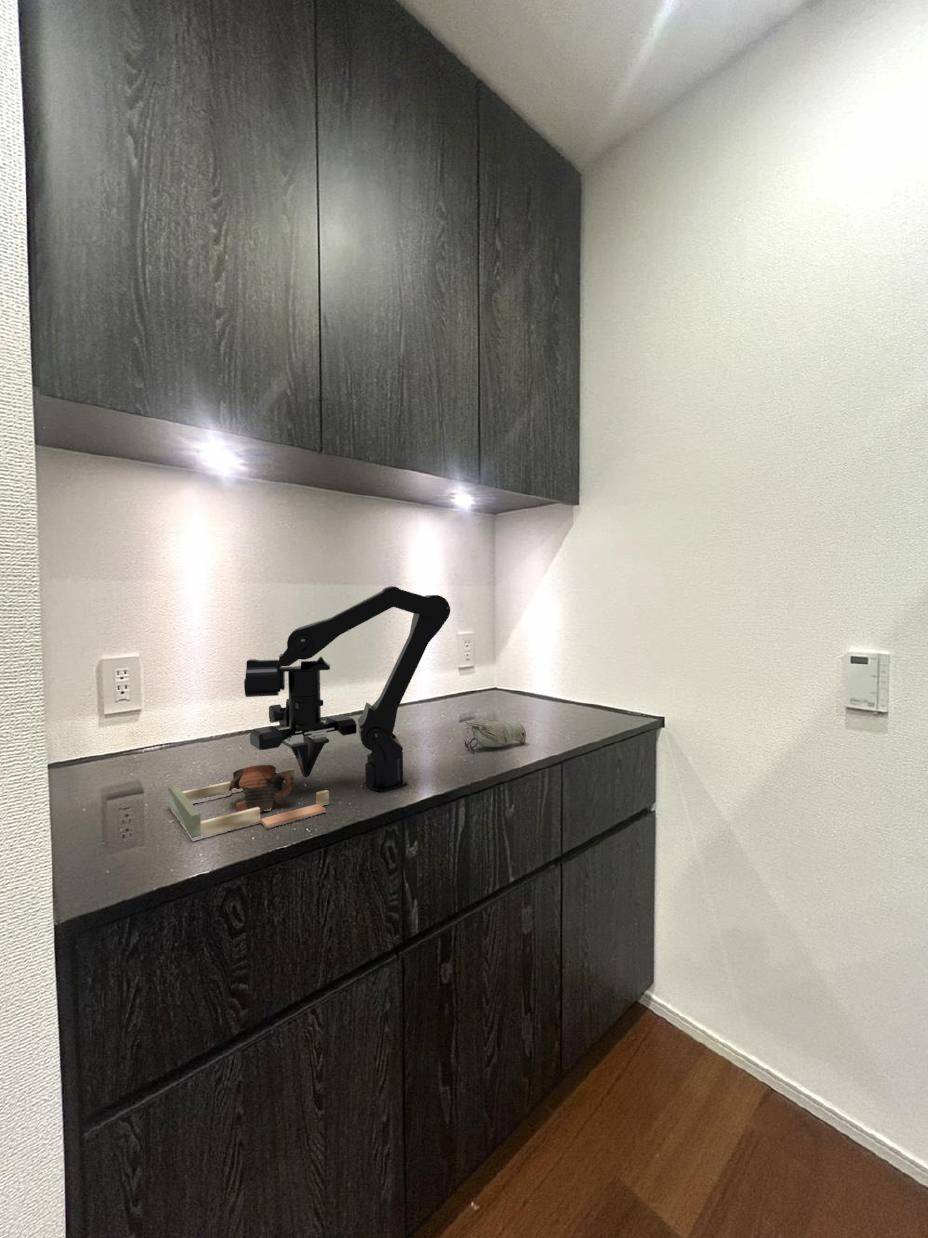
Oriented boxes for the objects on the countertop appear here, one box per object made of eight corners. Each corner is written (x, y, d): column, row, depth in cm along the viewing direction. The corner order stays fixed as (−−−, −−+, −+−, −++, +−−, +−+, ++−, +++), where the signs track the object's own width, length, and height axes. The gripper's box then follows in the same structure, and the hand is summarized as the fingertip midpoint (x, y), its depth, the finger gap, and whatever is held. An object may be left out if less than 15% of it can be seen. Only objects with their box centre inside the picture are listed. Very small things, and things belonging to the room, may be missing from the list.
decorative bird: (530, 747, 132) (530, 716, 132) (471, 756, 125) (470, 724, 125) (518, 741, 137) (518, 712, 137) (461, 750, 130) (460, 719, 130)
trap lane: (286, 776, 112) (286, 757, 112) (336, 810, 94) (336, 787, 94) (165, 803, 98) (165, 781, 98) (197, 849, 80) (196, 822, 80)
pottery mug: (218, 821, 91) (217, 772, 95) (247, 824, 100) (245, 779, 103) (285, 803, 91) (282, 754, 94) (309, 808, 99) (305, 763, 103)
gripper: (332, 683, 114) (333, 757, 115) (239, 694, 102) (241, 775, 103) (357, 690, 105) (358, 770, 106) (259, 703, 94) (261, 792, 94)
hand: (306, 776), depth 102 cm, fingers closed
